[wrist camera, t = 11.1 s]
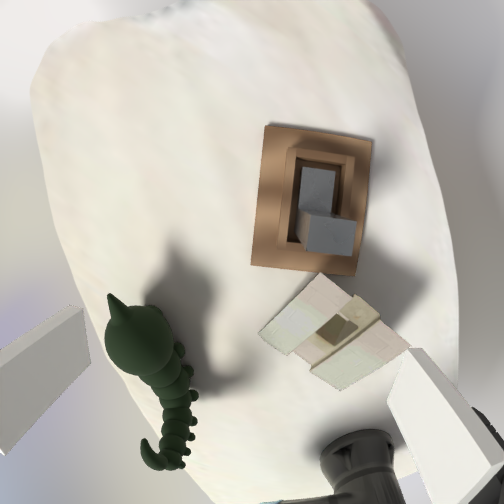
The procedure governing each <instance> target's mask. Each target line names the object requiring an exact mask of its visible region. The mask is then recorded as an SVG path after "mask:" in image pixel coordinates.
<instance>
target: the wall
mask: <svg viewBox="0 0 504 504" xmlns="http://www.w3.org/2000/svg"><path fill="white" fill-rule="evenodd" d="M337 313H338V314H339V315H338V314H337ZM258 334H259V335H260V336H261V338H262V339H263V340H264V341H265V342H267V343H268V344H270V345H271V346H273V347H274V348H275V349H277V350H278V351H280V352H282V353H283V354H284V355H286V356H287V355H288V354H290V353H291V352H292V351H294V352H295V354H297V355H298V356H299V357H301V358H302V359H303V360H305V361H306V362H308V363H309V364H311V369H310V370H309V371H310V372H311V373H312V374H314V375H315V376H317V377H319V378H320V379H321V380H323V381H325V382H326V383H328V384H329V385H331V386H332V387H335V389H338V390H339V391H341V390H342V389H343V390H344V389H346V388H347V387H349V386H350V385H352V384H354V383H356V382H357V381H359V380H360V379H363V378H364V377H365V376H367V375H369V374H371V373H372V372H374V371H375V370H377V369H379V368H381V367H382V366H383V365H385V364H387V363H388V362H389V361H391V360H393V359H394V358H395V357H396V356H398V355H400V354H401V353H402V352H404V351H405V350H406V349H407V348H409V347H410V346H411V345H410V344H409V343H408V342H407V341H405V340H404V339H403V338H402V337H401V336H399V335H398V334H397V333H396V332H394V331H393V330H392V329H391V328H390V327H388V326H387V325H385V324H384V323H383V322H382V321H380V314H379V313H378V312H377V311H376V310H375V309H374V308H373V307H372V306H369V304H367V302H365V300H363V299H362V298H360V296H357V295H356V294H354V295H353V296H349V294H347V293H346V292H345V291H344V290H342V289H341V288H339V286H337V285H336V284H335V283H334V282H331V280H330V279H328V278H327V277H326V276H325V275H323V274H322V273H321V272H320V273H319V274H318V275H317V276H316V277H315V278H314V280H313V281H311V282H310V283H309V284H308V285H307V287H305V288H304V290H302V291H301V292H300V294H298V295H297V296H296V297H295V298H294V300H292V301H291V302H290V303H289V305H287V306H286V308H284V309H283V310H282V311H281V312H280V313H279V314H278V315H277V316H275V317H274V320H273V319H272V320H271V322H270V323H269V324H268V325H266V327H265V328H264V329H262V331H260V332H259V333H258Z"/></svg>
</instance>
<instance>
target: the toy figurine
mask: <svg viewBox="0 0 504 504" xmlns="http://www.w3.org/2000/svg"><path fill="white" fill-rule="evenodd" d="M107 299H108V305H109V310H110V314H111V319H110V320H109V322H108V324H107V327H106V330H105V347H106V351H107V353H108V355H109V357H110V359H111V360H112V361H113V362H114V363H115V365H116V366H117V367H119V368H120V369H121V370H123V371H124V372H126V373H129V374H132V375H137V376H139V378H140V379H141V380H142V381H143V382H144V383H146V384H147V385H150V386H151V388H152V390H153V391H154V393H155V394H156V395H157V396H158V397H159V400H160V403H161V405H162V407H163V408H164V410H163V415H162V417H163V421H164V423H163V426H162V428H161V433H162V436H163V437H162V438H161V440H160V441H159V448H160V452H159V453H158V454H157V453H155V452H154V451H153V450H152V448H151V447H150V445H149V443H148V441H147V439H145V438H144V439H142V440H141V447H140V449H141V456H142V458H143V460H144V462H145V463H146V465H147V466H149V467H150V468H152V469H154V470H158V471H162V470H164V469H166V470H170V471H172V470H176V469H178V468H180V469H183V468H185V466H186V464H185V462H183V461H182V456H183V455H184V456H189V455H190V454H191V450H190V449H189V448H187V447H186V443H185V442H186V441H187V440H188V441H193V440H195V435H194V433H191V432H190V430H189V426H195V425H196V424H197V423H198V422H197V418H196V417H195V416H192V412H191V410H190V409H189V407H190V406H191V402H194V401H196V400H197V399H198V398H199V395H198V392H197V391H196V390H193V389H190V390H189V387H190V379H189V378H191V377H192V376H193V375H194V370H193V369H192V367H191V366H184V367H182V366H181V361H180V359H181V358H182V357H183V356H184V354H185V349H184V346H183V345H182V344H181V343H179V342H174V341H173V335H172V331H171V328H170V326H169V324H168V322H167V321H166V319H165V318H164V317H163V315H162V312H161V310H160V309H159V308H157V307H156V306H152V305H149V306H129V307H127V306H126V305H125V304H124V303H122V302H121V301H120V300H119V299H117V298H116V297H115V296H114V295H112V294H111V293H109V294H108V295H107Z"/></svg>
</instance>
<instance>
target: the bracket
mask: <svg viewBox="0 0 504 504" xmlns="http://www.w3.org/2000/svg"><path fill="white" fill-rule="evenodd" d="M334 181H335V171H329V170H323V169H316V168H309V167H302V168H301V173H300V182H299V191H298V200H297V209H296V217H295V226H294V232H295V234H296V235H297V237H298V239H299V240H300V242H301V244H302V245H303V247H304V249H305V250H306V251H310V252H318V253H327V254H335V255H344V256H352V251H353V245H354V238H355V232H356V225H357V221H354V220H351V219H348V218H346V217H343V216H340V215H337V214H334V213H331V208H332V199H333V190H334Z"/></svg>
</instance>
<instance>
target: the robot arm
mask: <svg viewBox="0 0 504 504" xmlns="http://www.w3.org/2000/svg"><path fill="white" fill-rule="evenodd" d="M90 364H91V360H90V354H89V348H88V342H87V335H86V328H85V321H84V311H83V308H79V307H76V306H72V305H69V306H67V307H66V308H64V309H63V310H61V311H59V312H58V313H56V314H55V315H53V316H51V317H50V318H48V319H47V320H45V321H43V322H42V323H40V324H39V325H37V326H36V327H34V328H33V329H31V330H30V331H28V332H27V333H25V334H23V335H22V336H20V337H19V338H18V339H16V340H14V341H13V342H11V343H10V344H8V345H7V346H6V347H4V348H3V349H0V453H2V454H3V455H5V456H6V455H7V453H8V452H9V451H10V450H11V449H12V448H13V447H14V446H15V445H16V443H17V442H18V441H19V440H20V439H21V438H22V437H23V436H24V434H25V433H26V432H27V431H28V430H29V429H30V428H31V427H32V426H33V425H34V423H35V422H36V421H37V420H38V419H39V418H40V417H41V416H42V414H44V413H45V411H46V410H47V409H48V408H49V407H50V406H51V405H52V404H53V403H54V402H55V401H56V400H57V399H58V397H60V395H61V394H62V393H63V392H64V391H65V390H66V389H67V388H68V387H69V386H70V385H71V384H72V383H73V382H74V381H75V380H76V379H77V378H78V376H80V375H81V373H82V372H83V371H84V370H85V369H86V368H87V367H88V366H89V365H90ZM386 402H387V404H388V406H389V408H390V410H391V412H392V415H393V417H394V419H395V421H396V423H397V425H398V427H399V429H400V431H401V433H402V436H403V438H404V440H405V442H406V444H407V447H408V449H409V451H410V453H411V455H412V458H413V460H414V462H415V464H416V467H417V469H418V471H419V474H420V476H421V478H422V480H423V483H424V485H425V488H426V490H427V492H428V495H429V497H430V499H431V502H432V504H504V440H503V439H502V438H501V436H500V435H499V434H498V432H496V430H495V428H494V427H493V426H492V425H490V422H489V421H488V419H487V418H486V417H485V416H484V414H482V413H481V412H480V411H478V410H477V409H475V408H474V407H470V406H469V404H468V403H467V402H466V400H465V399H464V398H463V396H462V395H461V394H460V393H459V392H458V390H457V389H456V388H455V387H454V385H453V384H452V383H451V382H450V381H449V379H448V378H447V377H446V376H445V375H444V373H443V372H442V371H441V370H440V369H439V367H438V366H437V365H436V364H435V363H434V362H433V360H432V359H431V358H430V357H429V356H428V355H427V353H426V352H425V351H424V350H423V349H422V348H407V349H406V352H405V355H404V358H403V360H402V363H401V366H400V369H399V371H398V374H397V376H396V379H395V382H394V384H393V387H392V389H391V391H390V394H389V396H388V399H387V401H386ZM320 465H321V470H322V472H323V474H324V475H325V477H326V479H327V480H328V482H329V483H330V485H331V486H332V488H333V489H334V495H329V496H322V497H315V498H306V499H296V500H279V501H275V502H263V503H260V504H406V503H405V500H404V497H403V494H402V492H401V489H400V486H399V483H398V481H397V478H396V475H395V473H394V470H393V465H394V444H393V442H392V439H391V437H390V435H389V434H387V433H386V432H384V431H381V430H375V429H369V430H361V431H357V432H353V433H350V434H347V435H345V436H343V437H341V438H339V439H337V440H335V441H334V442H332V443H331V444H330V445H329V446H327V447H326V448H325V450H324V451H323V452H322V454H321V457H320Z"/></svg>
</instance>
